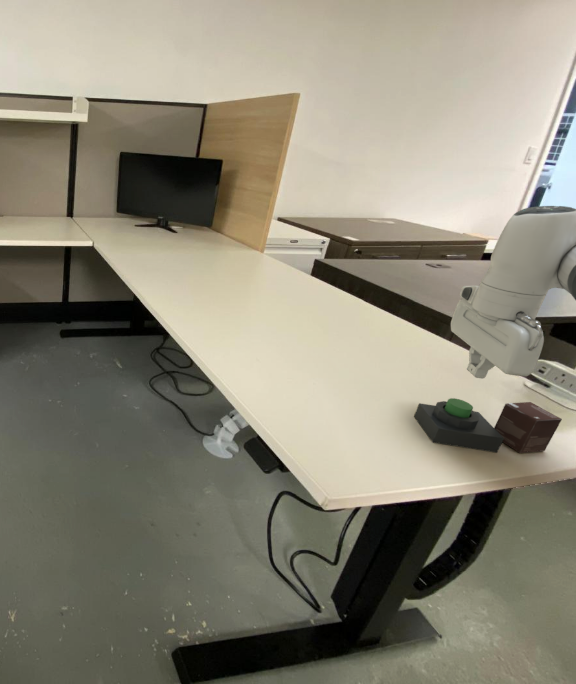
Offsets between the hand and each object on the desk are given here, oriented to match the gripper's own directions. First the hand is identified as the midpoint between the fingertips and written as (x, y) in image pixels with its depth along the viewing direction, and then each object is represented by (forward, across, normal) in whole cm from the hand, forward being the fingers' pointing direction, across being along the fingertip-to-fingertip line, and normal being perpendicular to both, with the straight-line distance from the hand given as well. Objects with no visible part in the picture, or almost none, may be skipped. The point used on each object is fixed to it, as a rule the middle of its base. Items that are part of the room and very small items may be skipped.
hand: (475, 374), depth 85 cm
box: (+13, 0, -12) cm, 18 cm away
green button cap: (+8, 0, 0) cm, 8 cm away
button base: (+13, 0, -1) cm, 13 cm away
